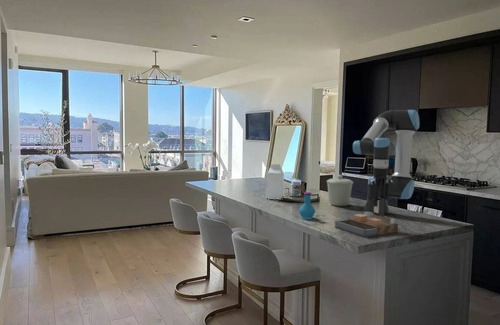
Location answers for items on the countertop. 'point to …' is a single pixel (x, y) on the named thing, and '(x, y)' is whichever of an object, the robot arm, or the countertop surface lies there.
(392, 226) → the board
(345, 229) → the tray
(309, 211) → the perfume bottle
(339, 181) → the canister
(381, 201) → the grey bar
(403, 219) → the countertop surface
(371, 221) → the tile
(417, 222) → the countertop surface
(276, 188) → the milk
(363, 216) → the tile
